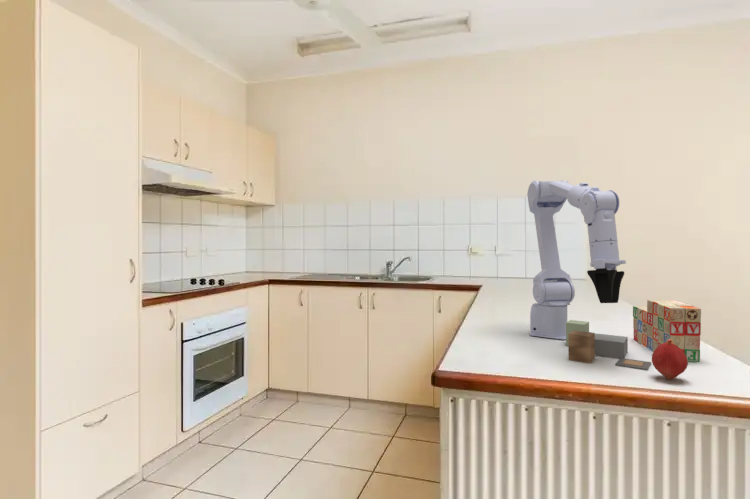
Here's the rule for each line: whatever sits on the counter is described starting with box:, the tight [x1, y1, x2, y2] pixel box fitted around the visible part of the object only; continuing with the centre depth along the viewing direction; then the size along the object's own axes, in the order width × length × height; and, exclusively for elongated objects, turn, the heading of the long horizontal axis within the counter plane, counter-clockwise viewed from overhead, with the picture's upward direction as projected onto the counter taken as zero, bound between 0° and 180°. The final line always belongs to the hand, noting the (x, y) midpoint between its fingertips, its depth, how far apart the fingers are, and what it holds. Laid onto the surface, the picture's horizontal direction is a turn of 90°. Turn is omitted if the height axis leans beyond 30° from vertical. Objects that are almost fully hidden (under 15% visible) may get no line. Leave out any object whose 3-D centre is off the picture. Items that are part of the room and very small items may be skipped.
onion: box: [651, 339, 689, 380], centre depth 85 cm, size 6×6×8 cm
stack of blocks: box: [632, 299, 702, 363], centre depth 106 cm, size 21×6×12 cm, turn 169°
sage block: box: [565, 319, 590, 347], centre depth 112 cm, size 4×4×6 cm
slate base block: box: [594, 332, 629, 360], centre depth 104 cm, size 7×7×4 cm
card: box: [614, 357, 652, 371], centre depth 95 cm, size 6×6×1 cm
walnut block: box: [567, 331, 596, 364], centre depth 99 cm, size 4×4×6 cm
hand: (609, 303), depth 97 cm, fingers open, 7 cm apart
